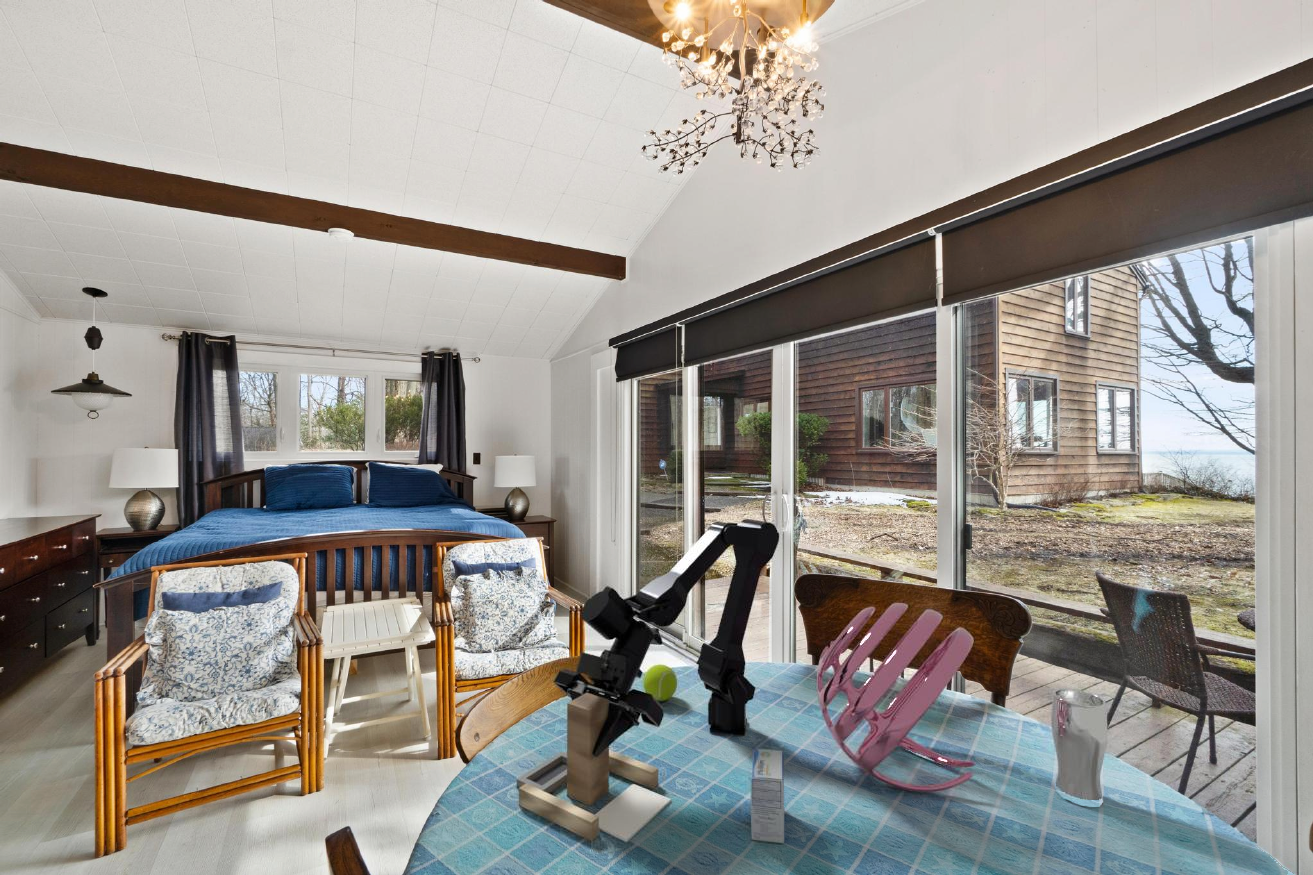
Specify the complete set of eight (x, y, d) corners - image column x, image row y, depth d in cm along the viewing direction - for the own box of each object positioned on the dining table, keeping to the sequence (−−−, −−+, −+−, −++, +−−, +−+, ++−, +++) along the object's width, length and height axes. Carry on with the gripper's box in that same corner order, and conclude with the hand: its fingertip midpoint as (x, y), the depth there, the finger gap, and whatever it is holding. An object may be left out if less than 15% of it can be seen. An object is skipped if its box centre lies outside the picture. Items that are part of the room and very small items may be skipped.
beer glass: (1097, 787, 93) (1097, 691, 93) (1115, 814, 86) (1115, 710, 86) (1045, 779, 95) (1045, 684, 95) (1059, 804, 89) (1059, 703, 89)
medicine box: (784, 845, 80) (784, 780, 80) (750, 840, 80) (750, 776, 80) (783, 809, 87) (784, 750, 87) (752, 805, 88) (753, 746, 88)
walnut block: (586, 781, 94) (586, 692, 94) (608, 791, 92) (609, 699, 92) (566, 795, 90) (567, 703, 90) (589, 805, 88) (589, 710, 88)
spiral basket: (1060, 659, 94) (907, 547, 106) (1019, 772, 74) (837, 618, 87) (960, 750, 109) (836, 643, 121) (904, 864, 89) (763, 722, 102)
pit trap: (516, 786, 93) (516, 779, 93) (561, 758, 101) (561, 751, 101) (542, 798, 90) (542, 790, 90) (586, 768, 98) (586, 761, 98)
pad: (586, 823, 84) (586, 821, 84) (633, 785, 93) (633, 783, 93) (626, 842, 80) (626, 839, 80) (670, 801, 89) (670, 799, 89)
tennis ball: (636, 698, 124) (636, 665, 124) (660, 689, 129) (661, 656, 129) (659, 710, 119) (659, 675, 119) (683, 699, 124) (684, 666, 124)
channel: (518, 805, 88) (518, 788, 88) (589, 757, 101) (589, 742, 101) (591, 841, 80) (591, 822, 80) (658, 784, 93) (658, 768, 93)
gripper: (561, 619, 100) (510, 711, 90) (653, 641, 89) (606, 747, 80) (591, 653, 106) (547, 741, 97) (681, 677, 96) (640, 778, 86)
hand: (582, 750), depth 90 cm, fingers closed on walnut block, 4 cm apart
